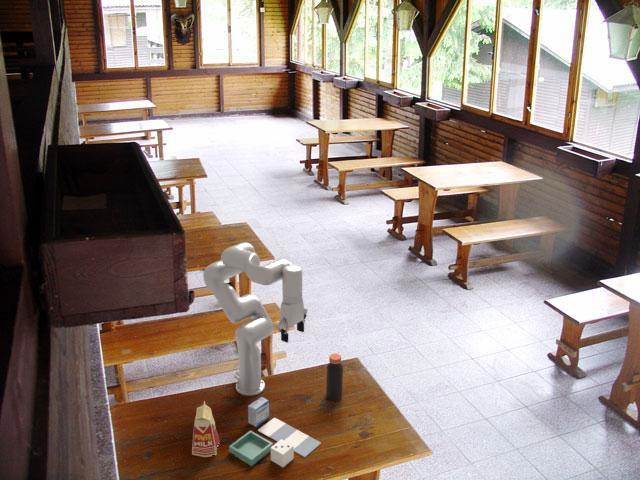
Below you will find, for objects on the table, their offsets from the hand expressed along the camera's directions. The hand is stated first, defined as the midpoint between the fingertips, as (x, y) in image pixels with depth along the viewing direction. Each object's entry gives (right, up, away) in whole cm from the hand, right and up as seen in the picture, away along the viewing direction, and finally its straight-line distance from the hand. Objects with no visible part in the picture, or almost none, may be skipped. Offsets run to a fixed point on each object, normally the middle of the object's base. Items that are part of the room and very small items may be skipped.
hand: (292, 336), depth 250 cm
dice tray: (-15, -42, -8) cm, 46 cm away
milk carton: (-32, -42, -8) cm, 54 cm away
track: (-1, -39, -1) cm, 39 cm away
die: (-3, -44, -12) cm, 46 cm away
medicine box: (-14, -36, +8) cm, 39 cm away
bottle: (+17, -30, +24) cm, 42 cm away
